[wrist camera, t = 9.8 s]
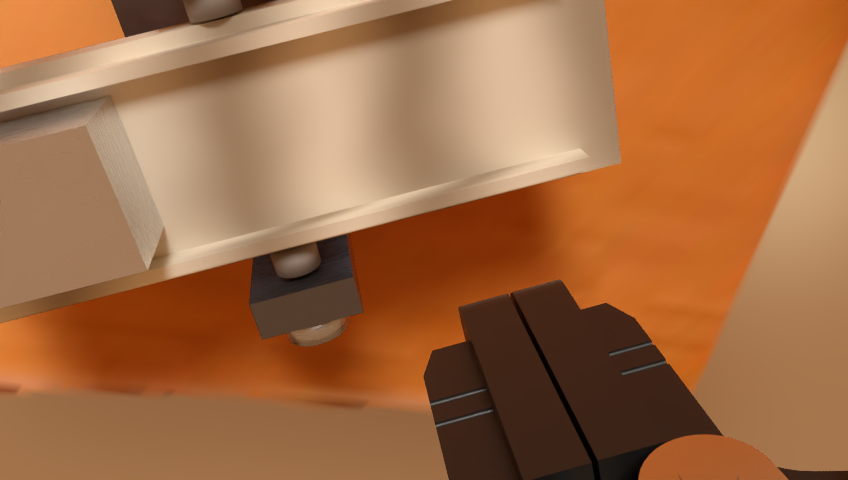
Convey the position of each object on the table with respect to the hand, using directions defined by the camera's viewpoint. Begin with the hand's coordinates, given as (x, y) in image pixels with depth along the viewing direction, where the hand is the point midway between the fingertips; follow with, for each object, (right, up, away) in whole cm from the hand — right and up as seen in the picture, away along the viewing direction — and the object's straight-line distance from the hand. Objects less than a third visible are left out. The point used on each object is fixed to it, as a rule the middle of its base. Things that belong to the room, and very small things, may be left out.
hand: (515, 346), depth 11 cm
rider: (-15, +3, +16) cm, 22 cm away
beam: (-7, +5, +17) cm, 19 cm away
